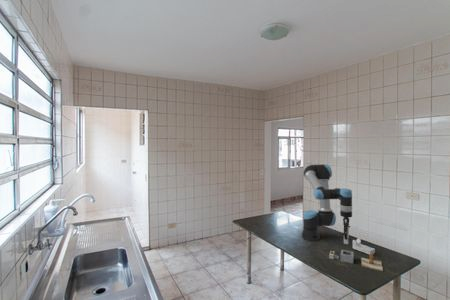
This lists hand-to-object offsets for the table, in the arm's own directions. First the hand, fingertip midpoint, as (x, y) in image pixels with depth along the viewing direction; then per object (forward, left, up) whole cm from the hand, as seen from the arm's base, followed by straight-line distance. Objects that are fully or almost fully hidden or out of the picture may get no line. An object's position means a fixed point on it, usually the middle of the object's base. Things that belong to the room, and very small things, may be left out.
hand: (346, 239), depth 170 cm
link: (0, 0, -15) cm, 15 cm away
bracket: (-21, +11, -15) cm, 28 cm away
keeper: (0, +15, -15) cm, 21 cm away
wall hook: (0, -7, -15) cm, 16 cm away
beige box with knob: (0, -10, -15) cm, 18 cm away
